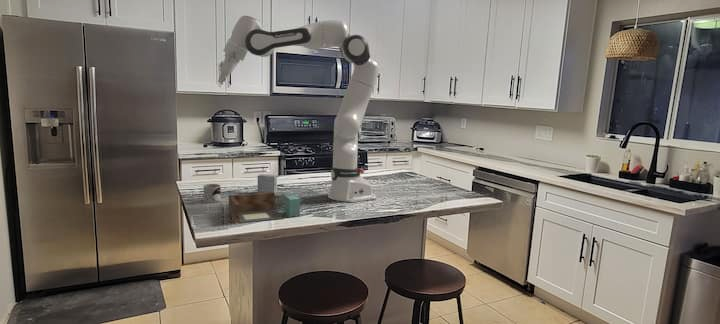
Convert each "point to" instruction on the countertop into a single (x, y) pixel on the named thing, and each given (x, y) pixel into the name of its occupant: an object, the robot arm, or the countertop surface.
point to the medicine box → (267, 183)
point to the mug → (212, 193)
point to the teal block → (292, 205)
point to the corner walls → (250, 203)
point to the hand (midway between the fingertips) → (221, 81)
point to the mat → (259, 216)
